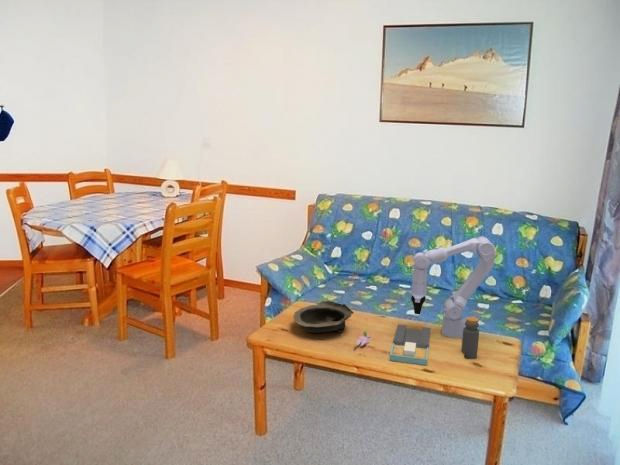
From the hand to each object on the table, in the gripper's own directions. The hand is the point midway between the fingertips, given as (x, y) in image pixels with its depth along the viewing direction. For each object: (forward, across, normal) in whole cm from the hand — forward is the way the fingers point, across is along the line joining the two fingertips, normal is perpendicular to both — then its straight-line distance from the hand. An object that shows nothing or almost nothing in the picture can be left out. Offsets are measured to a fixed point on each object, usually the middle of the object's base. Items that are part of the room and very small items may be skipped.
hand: (417, 313), depth 226 cm
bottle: (+10, +14, +21) cm, 27 cm away
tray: (+9, +22, -1) cm, 24 cm away
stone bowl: (+10, +6, -39) cm, 41 cm away
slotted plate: (+9, +7, -1) cm, 12 cm away
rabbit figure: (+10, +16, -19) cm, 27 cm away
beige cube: (+9, +24, -1) cm, 26 cm away
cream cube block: (+9, +20, -1) cm, 22 cm away
